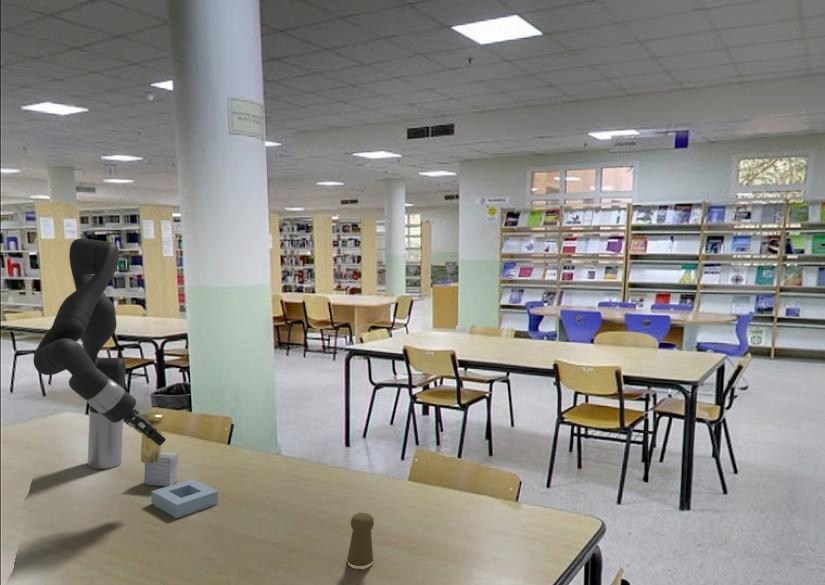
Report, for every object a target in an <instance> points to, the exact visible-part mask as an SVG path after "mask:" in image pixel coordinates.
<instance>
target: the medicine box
mask: <svg viewBox="0 0 825 585" xmlns="http://www.w3.org/2000/svg"><path fill="white" fill-rule="evenodd" d="M178 458H179V453H177V452H169V451H168V452H167V451H161V452H160V461H158V462H155V463H144V476H143V477H144V479H143V482H144V483H143V484H144V485H145V484H147V485H149V486H159V487H167V486H171V485H174V484H176V483H177V482H178V466H179V465H178V463H179V462H178V460H179V459H178Z"/></svg>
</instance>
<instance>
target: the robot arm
mask: <svg viewBox="0 0 825 585" xmlns="http://www.w3.org/2000/svg"><path fill="white" fill-rule="evenodd" d="M68 257H69V265H70V271H71V275H72V279H73V283H74V286H75V291H73V292H72V293H70V294H69V295H68V296H67V297H65V299H64V300H63V301H62V302H61V304H60V306H59V308H58V311H57V313H56V316H55V318H54V321H53V324H52V326H51V327H50V329H49V330H48V331H47V333H46V334H45V336H44V337H43V338H42V339H41V341H40V343H39V344H38V346H37V347H36V350H34V351H35V352H34V354H33V366H34V368H35V369H36V370H37V372H38V373H40V374H41V375H45V376H53V375H56V374H60V373H62V372H63V371H67V372H69V373H70V375H71V376H70V378H69V380H68V385H69V387H70V388H71V390H72V391H73V392H75V393H76V394H77V395H79V397H81V398H82V399H83V400H85V401H86V402H87V403H88V405H89V414H88V421H89V422H88V445H87V446H88V447H87V467H88V468H90V469H95V470H104V469H111V468H116V467H117V466H119V465H121V464H122V459H123V458H122V455H123V454H122V453H123V429H124V428H123V427H124V424H123V423H125V424H126V425H127V426H128V427H130V428H133V429H134V430H135V431H136V432H137V433H139V434H142V433H143V434H145V435H146V436H147V438H150V439H152V440H153V441H154V442H155V443H157V444H158V445H159V446H160V445H161V446H162V445H163V444H164V443H165V442H166V438H165V437H164V436H163V435H162V434H161V435H160V434H159V433H158V432H157V430H156V429H155V428H153V427H152V426H151V425H150V422H149V421H148V420H146V419H145V418H144V417H143V415H142V414H143V413H141V412H140V411H138V410H137V409H135V407H136V404H137V400H136V398H134V396H133V395H132V394H130V392H128V391H127V390H126V389H125V381H126V371H127V369H126V368H127V366H126V365H127V364H126V361H125V359H124V358H123V357H99V356H98V355H99V353H100V351H101V350H102V348H103V347H104V346H105V345H106V344H107V342H108V341H109V340H110V339H111V337H113V336H114V334H115V331H116V329H117V325H118V324H117V314H116V312H117V311H116V308H115V306H114V304H113V302H112V300H111V299H110V298H109V296H107V295H106V293H105V291H106V289H107V287H108V285H109V283H110V282H111V280H112V278H113V276H114V274H116V271H117V268H118V265H119V261H120V252H119V246H118V245H117V244H116V243H114V242H112V241H111V242H110V241H107V240H98V239H91V238H90V239H89V238H76V239H75V240H73V241H72V242H71V244H70V246H69V256H68ZM81 338H82V345H81V344H80V343H79V342H78V341H79V340H80V339H81ZM141 418H142V419H141ZM150 429H151V431H150V432H149V433H148V434H147V432H148V431H149V430H150Z"/></svg>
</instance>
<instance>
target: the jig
mask: <svg viewBox="0 0 825 585" xmlns="http://www.w3.org/2000/svg"><path fill="white" fill-rule="evenodd" d="M150 498H151V501H150V504H151V503H152V504H154V505H155V506H157V507H159V508H160V509H159V508H158V509H159V510H161V509H162V510H161V511H162V512H164V511H165V512H164V513H166V512H167V513H166V514H168V515H169V516H172V517H174V519H175V518H176V519H179V518H181V517H185V516H186V515H187V516H188V515H190V514H192V513H196V512H198V511H201V510H204V509H207V508H210V507H213V506H215V505H218V500H219V491H218V490H217V489H214V488H212V487H211V486H208V485H206V484H204V483H202V482H199V480H195V479H193V478H192V479H188V480H185V481H181V482H178V483H177V482H176V483H174V484H173V485H171V486H163V487H162V488H158V489H154V490H152V491H151V497H150ZM152 504H151V505H152ZM154 505H153V506H154ZM155 506H154V507H155ZM157 507H156V508H157Z"/></svg>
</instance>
